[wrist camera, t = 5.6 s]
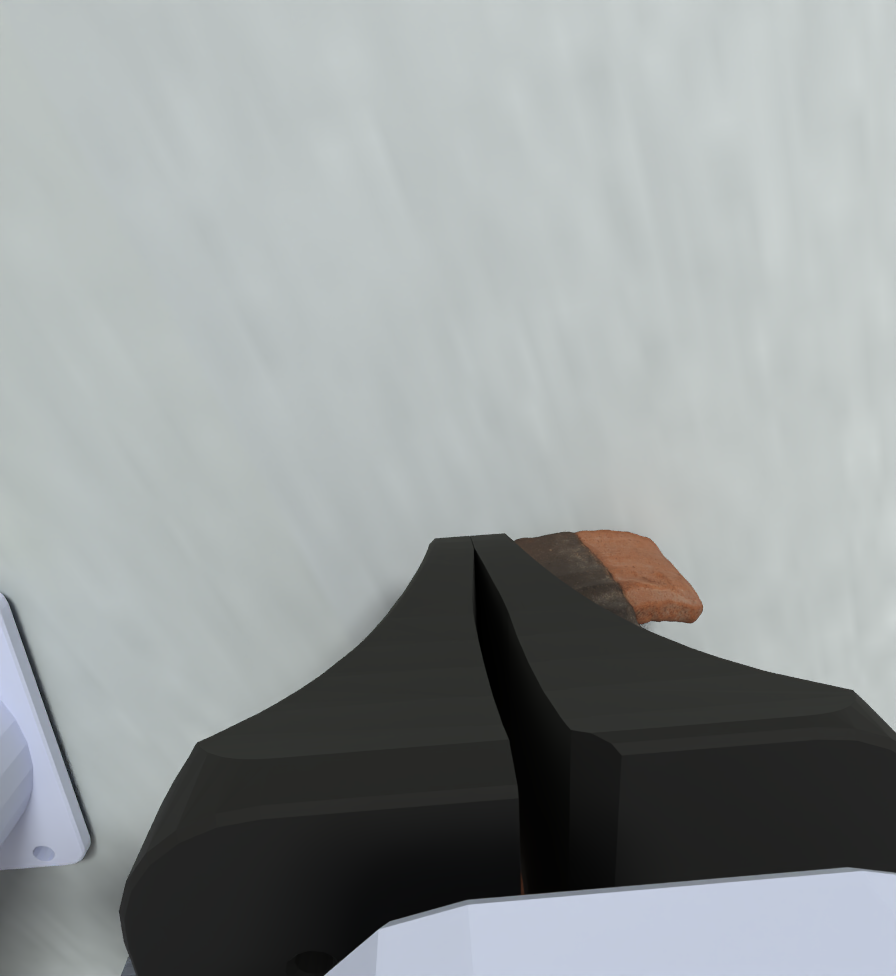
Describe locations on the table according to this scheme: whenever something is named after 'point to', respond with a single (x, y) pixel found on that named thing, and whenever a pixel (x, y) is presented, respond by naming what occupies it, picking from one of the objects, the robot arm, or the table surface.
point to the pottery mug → (617, 575)
